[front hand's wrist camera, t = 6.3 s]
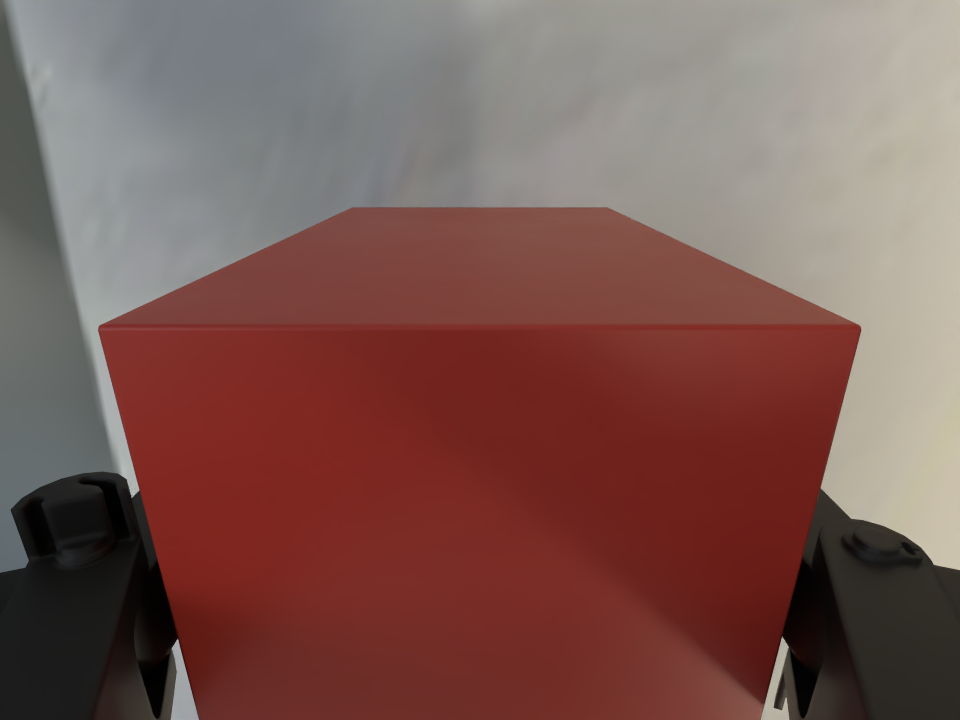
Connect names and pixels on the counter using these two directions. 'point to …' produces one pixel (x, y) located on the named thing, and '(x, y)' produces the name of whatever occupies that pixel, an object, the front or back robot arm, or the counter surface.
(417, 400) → the block
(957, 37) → the counter surface
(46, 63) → the counter surface
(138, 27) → the counter surface
